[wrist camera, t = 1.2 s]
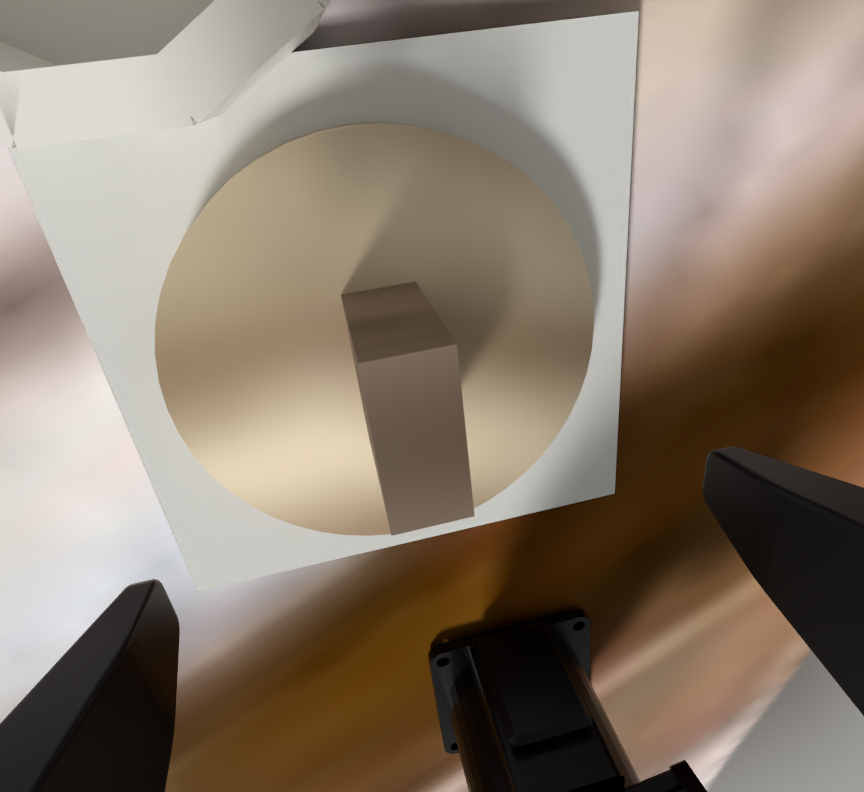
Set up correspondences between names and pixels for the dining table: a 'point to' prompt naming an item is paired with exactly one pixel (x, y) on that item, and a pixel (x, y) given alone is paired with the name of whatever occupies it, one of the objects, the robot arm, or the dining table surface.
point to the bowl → (135, 62)
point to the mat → (320, 109)
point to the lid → (374, 329)
